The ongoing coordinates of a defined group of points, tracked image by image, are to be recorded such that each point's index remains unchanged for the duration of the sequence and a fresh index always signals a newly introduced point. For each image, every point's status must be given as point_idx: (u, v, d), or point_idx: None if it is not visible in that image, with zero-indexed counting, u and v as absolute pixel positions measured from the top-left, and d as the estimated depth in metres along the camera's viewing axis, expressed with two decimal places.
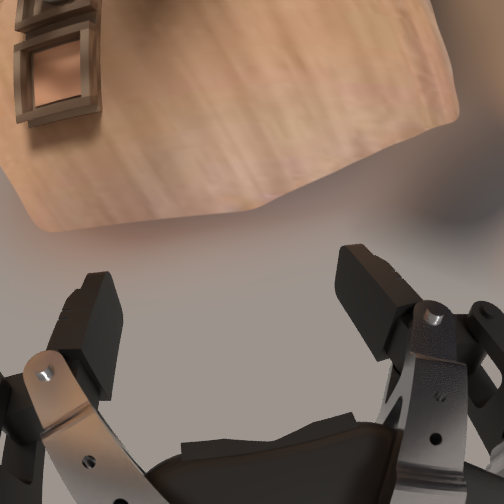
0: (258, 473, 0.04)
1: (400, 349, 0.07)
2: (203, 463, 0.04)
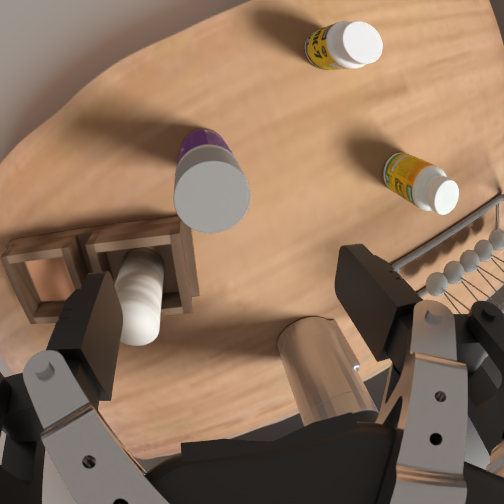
0: (258, 473, 0.04)
1: (401, 349, 0.07)
2: (203, 463, 0.04)
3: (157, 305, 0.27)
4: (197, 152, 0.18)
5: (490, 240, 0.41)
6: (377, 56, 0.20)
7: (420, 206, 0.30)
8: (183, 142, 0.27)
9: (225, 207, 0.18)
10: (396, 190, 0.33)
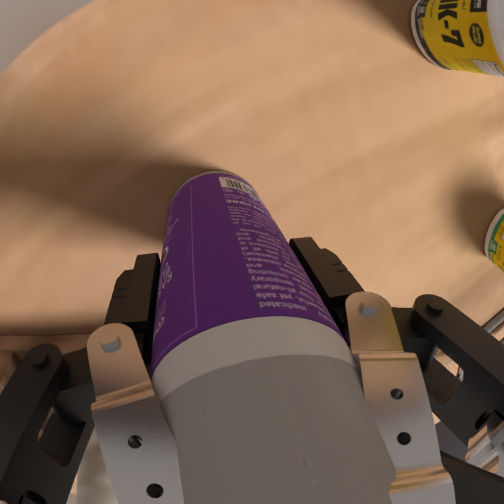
0: None
1: None
2: None
3: None
4: (234, 427, 0.04)
5: None
6: None
7: None
8: (172, 210, 0.12)
9: None
10: None
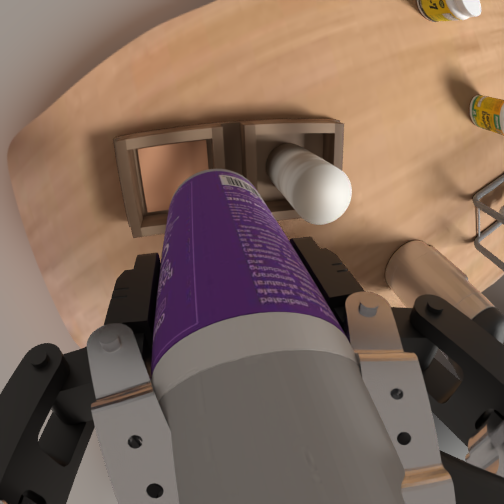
0: None
1: None
2: None
3: None
4: (235, 424, 0.04)
5: None
6: (479, 12, 0.18)
7: None
8: (172, 208, 0.12)
9: None
10: (483, 122, 0.31)
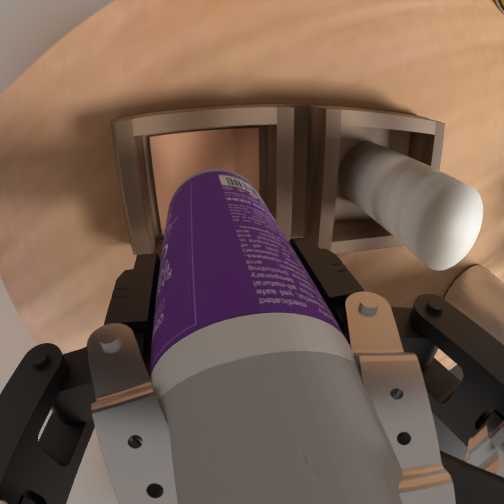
0: None
1: None
2: None
3: None
4: (233, 425, 0.04)
5: None
6: None
7: None
8: (172, 208, 0.12)
9: None
10: None
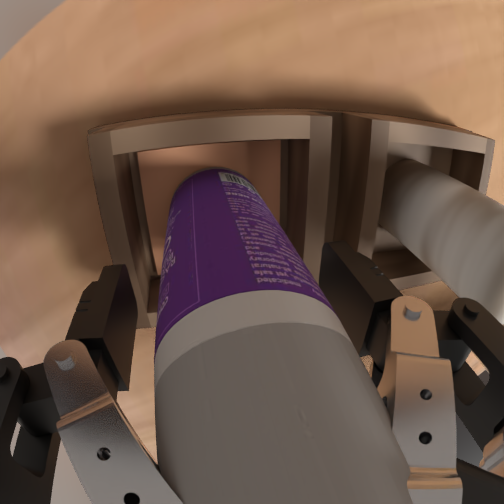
0: None
1: (379, 345, 0.08)
2: None
3: None
4: (234, 386, 0.04)
5: None
6: None
7: None
8: (174, 203, 0.13)
9: None
10: None
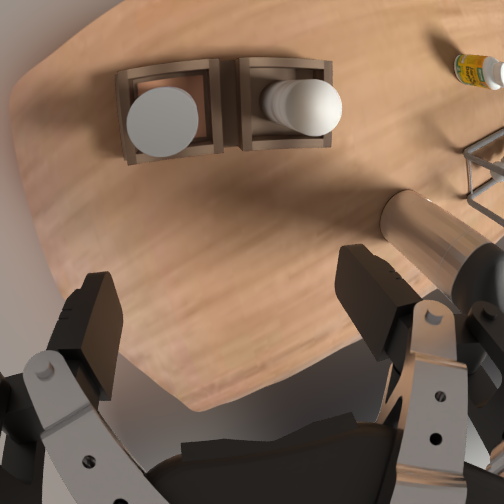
0: (258, 473, 0.04)
1: (400, 349, 0.07)
2: (203, 463, 0.04)
3: None
4: None
5: None
6: None
7: (489, 83, 0.28)
8: None
9: (175, 130, 0.17)
10: (467, 76, 0.31)
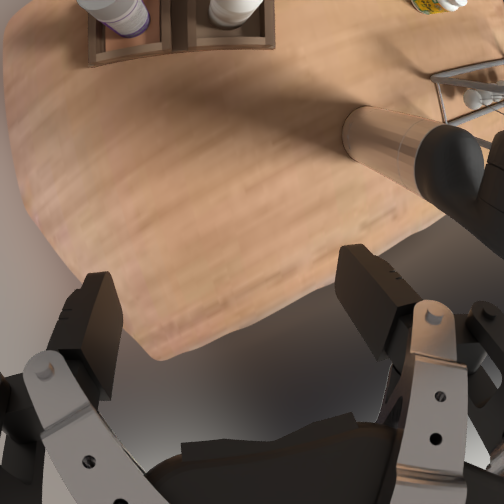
0: (258, 473, 0.04)
1: (400, 349, 0.07)
2: (203, 463, 0.04)
3: None
4: None
5: None
6: None
7: (442, 2, 0.26)
8: None
9: None
10: (422, 2, 0.29)
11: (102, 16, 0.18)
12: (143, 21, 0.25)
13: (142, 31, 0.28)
